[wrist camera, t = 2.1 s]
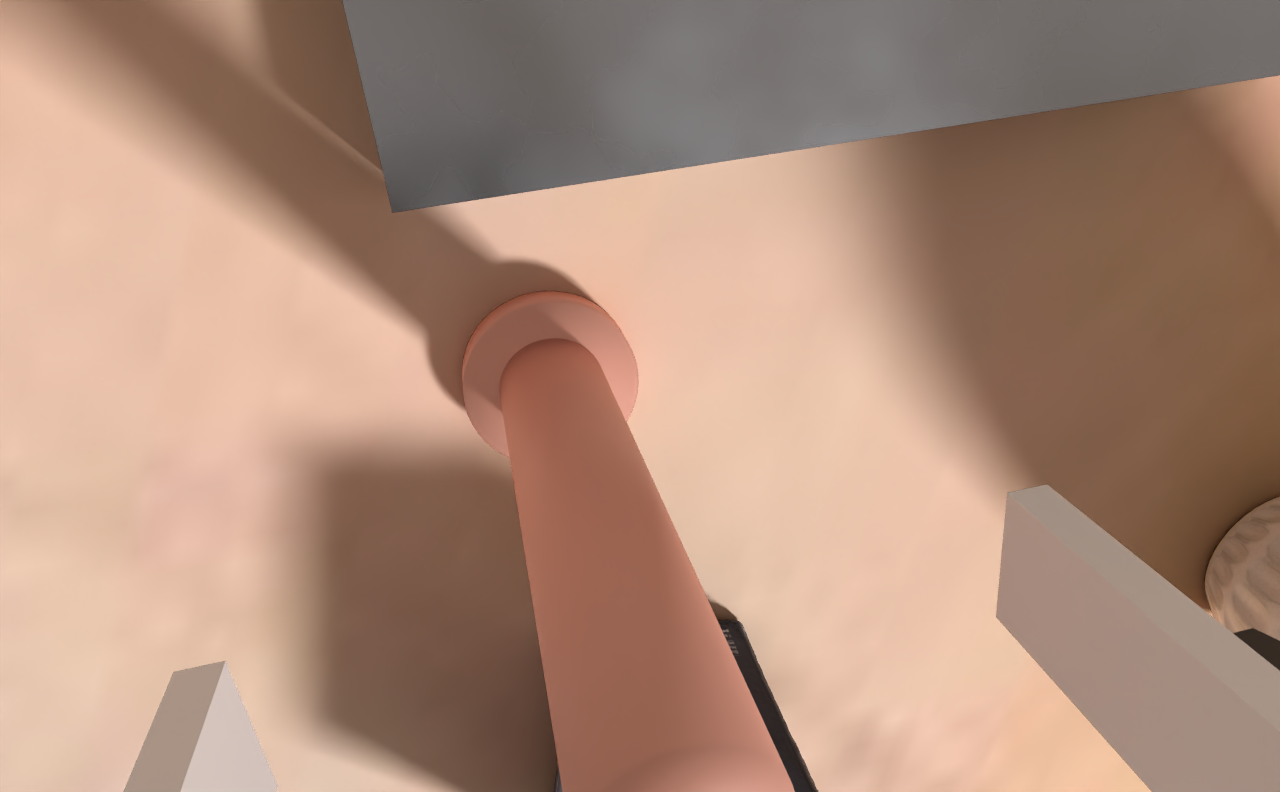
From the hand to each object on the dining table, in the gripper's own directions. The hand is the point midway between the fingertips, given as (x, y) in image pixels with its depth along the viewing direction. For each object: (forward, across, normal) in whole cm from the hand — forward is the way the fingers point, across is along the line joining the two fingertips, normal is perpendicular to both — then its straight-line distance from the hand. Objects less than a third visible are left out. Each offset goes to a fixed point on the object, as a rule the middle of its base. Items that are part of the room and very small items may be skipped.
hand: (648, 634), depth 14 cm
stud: (+12, 0, 0) cm, 12 cm away
